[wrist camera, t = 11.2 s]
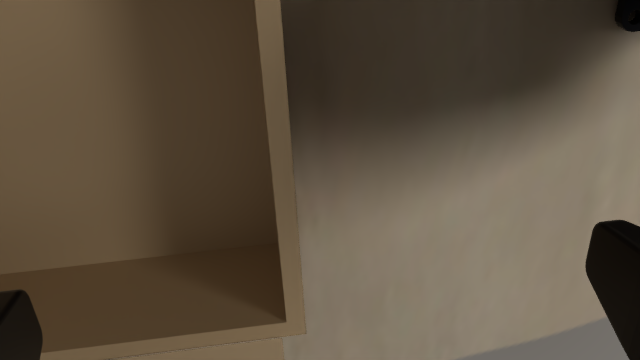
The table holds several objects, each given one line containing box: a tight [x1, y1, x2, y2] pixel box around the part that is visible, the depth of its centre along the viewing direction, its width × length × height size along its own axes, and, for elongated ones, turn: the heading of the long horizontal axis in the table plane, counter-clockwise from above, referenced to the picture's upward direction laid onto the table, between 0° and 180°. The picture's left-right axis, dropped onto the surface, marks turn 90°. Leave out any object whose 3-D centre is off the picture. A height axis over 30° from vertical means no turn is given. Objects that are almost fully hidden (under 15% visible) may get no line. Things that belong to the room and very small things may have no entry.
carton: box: [0, 0, 306, 360], centre depth 17 cm, size 14×14×5 cm
